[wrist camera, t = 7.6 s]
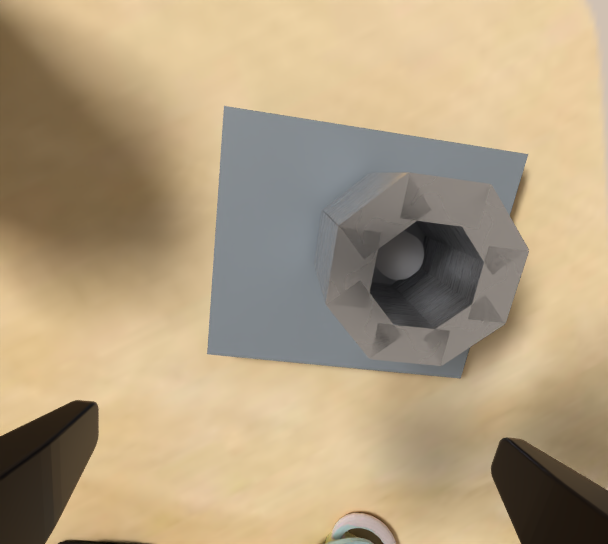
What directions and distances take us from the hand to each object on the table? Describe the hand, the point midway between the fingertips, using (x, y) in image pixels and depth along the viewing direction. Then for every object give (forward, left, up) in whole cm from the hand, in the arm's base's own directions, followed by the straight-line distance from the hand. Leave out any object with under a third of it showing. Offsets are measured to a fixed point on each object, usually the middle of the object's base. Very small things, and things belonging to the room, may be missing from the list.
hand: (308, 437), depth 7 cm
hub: (+3, -4, -9) cm, 11 cm away
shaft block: (+2, -3, -12) cm, 12 cm away
